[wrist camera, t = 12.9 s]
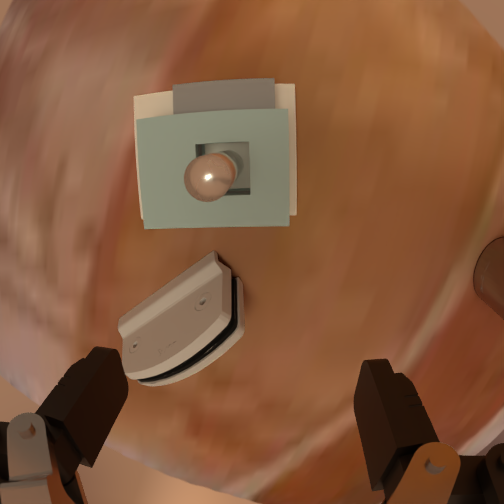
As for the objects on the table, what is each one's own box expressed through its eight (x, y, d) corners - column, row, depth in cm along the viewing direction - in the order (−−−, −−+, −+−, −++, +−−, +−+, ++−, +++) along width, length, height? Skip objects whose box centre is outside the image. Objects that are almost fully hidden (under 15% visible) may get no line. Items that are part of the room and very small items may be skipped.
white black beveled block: (216, 248, 34) (225, 317, 26) (242, 273, 36) (257, 342, 28) (117, 319, 37) (107, 385, 29) (144, 337, 40) (139, 401, 32)
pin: (243, 149, 29) (229, 153, 19) (244, 180, 30) (231, 201, 20) (211, 151, 29) (182, 156, 19) (213, 181, 30) (185, 203, 20)
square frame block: (293, 85, 28) (299, 74, 23) (295, 213, 32) (300, 226, 27) (137, 97, 29) (115, 91, 24) (144, 216, 33) (125, 229, 28)
